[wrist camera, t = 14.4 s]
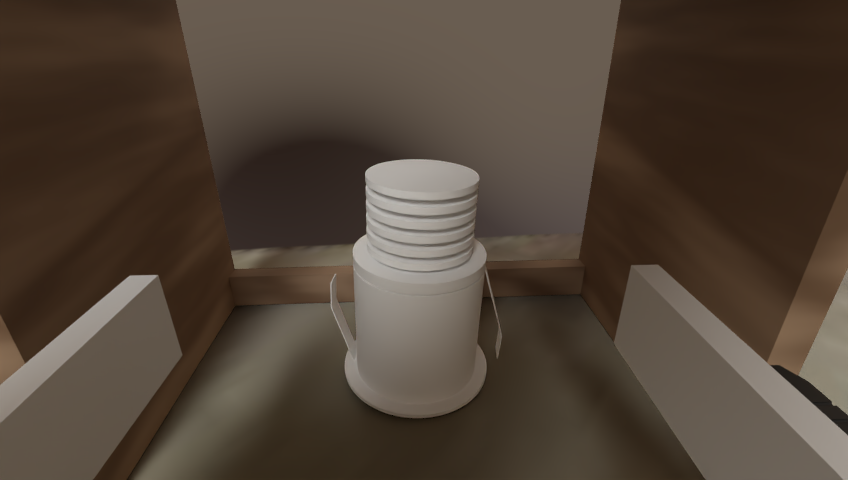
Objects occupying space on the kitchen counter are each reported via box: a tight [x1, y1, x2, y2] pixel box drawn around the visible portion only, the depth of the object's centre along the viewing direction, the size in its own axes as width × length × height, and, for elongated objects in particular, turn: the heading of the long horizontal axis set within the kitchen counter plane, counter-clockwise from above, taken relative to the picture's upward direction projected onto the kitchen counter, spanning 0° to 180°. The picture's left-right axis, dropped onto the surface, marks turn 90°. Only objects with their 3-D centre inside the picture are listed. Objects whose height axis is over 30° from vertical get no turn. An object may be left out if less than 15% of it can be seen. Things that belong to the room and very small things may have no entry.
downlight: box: [330, 159, 502, 418], centre depth 20 cm, size 8×7×10 cm
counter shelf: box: [0, 0, 848, 480], centre depth 17 cm, size 24×14×22 cm, turn 93°
